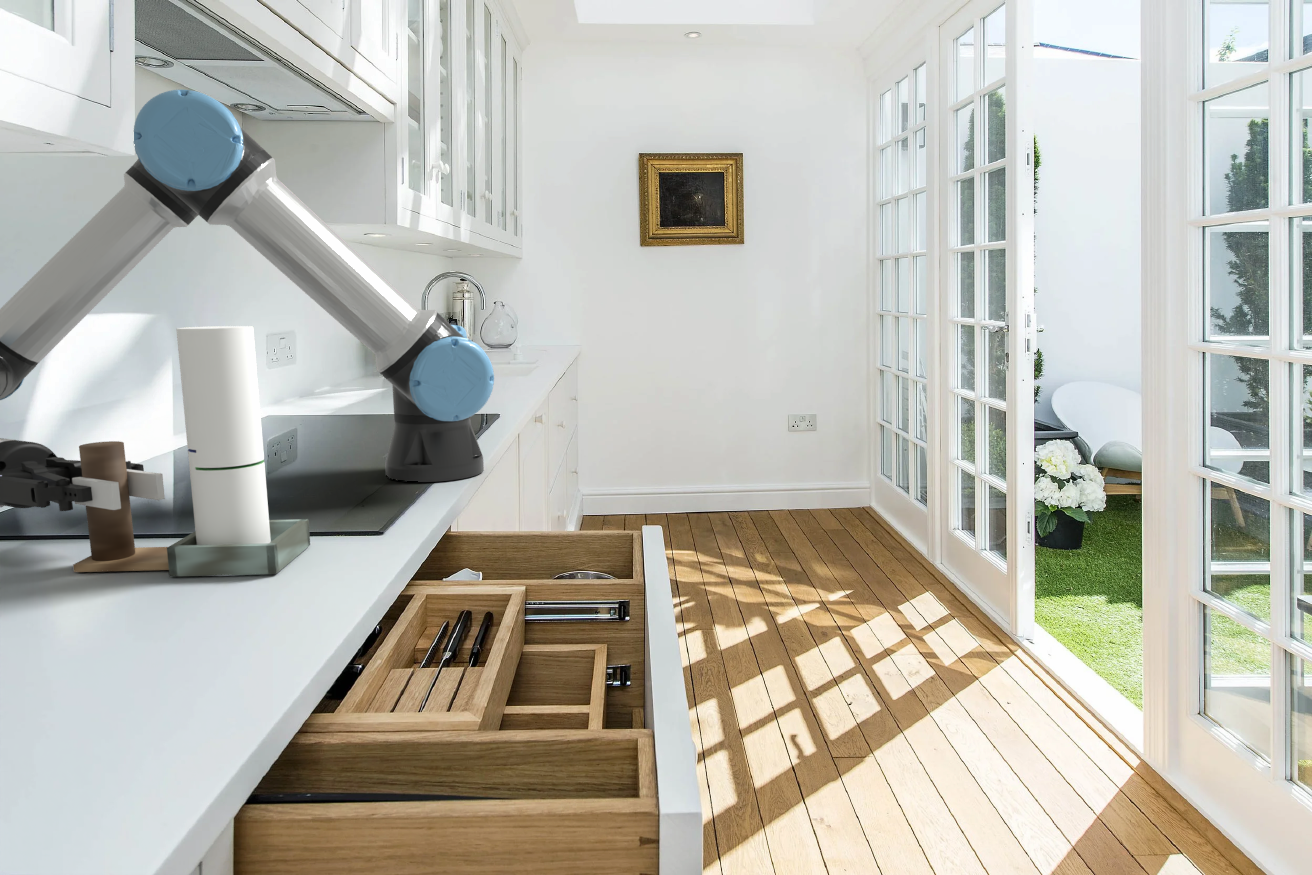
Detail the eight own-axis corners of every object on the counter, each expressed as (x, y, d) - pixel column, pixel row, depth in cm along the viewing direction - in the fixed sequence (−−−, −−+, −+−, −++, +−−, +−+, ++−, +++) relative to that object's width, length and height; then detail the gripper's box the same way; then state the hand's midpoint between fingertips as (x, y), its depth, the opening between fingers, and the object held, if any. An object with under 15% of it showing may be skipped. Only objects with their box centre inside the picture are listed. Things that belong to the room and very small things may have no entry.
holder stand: (60, 579, 91) (45, 454, 89) (117, 549, 101) (105, 436, 99) (276, 573, 92) (266, 450, 90) (310, 544, 102) (302, 433, 100)
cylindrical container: (252, 548, 102) (233, 325, 98) (284, 560, 97) (266, 326, 93) (186, 563, 96) (163, 328, 92) (218, 576, 92) (195, 329, 88)
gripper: (88, 489, 111) (215, 508, 100) (-74, 521, 96) (56, 548, 85) (81, 429, 110) (209, 442, 99) (-84, 452, 95) (46, 470, 84)
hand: (138, 491), depth 92 cm, fingers closed on holder stand, 4 cm apart
